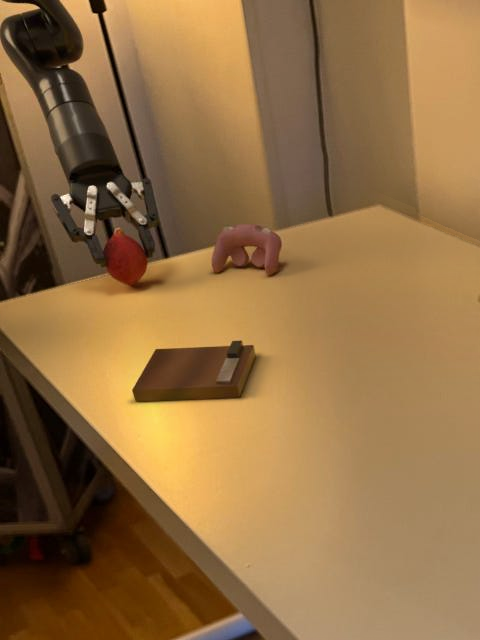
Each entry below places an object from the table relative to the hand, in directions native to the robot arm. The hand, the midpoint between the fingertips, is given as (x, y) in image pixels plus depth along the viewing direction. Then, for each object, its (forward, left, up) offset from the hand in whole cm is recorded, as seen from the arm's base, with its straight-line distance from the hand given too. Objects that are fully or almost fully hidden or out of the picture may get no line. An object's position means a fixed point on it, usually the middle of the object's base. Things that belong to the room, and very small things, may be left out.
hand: (127, 259), depth 136 cm
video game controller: (+15, +6, -4) cm, 17 cm away
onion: (-1, +1, -4) cm, 5 cm away
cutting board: (+15, -29, -4) cm, 33 cm away
